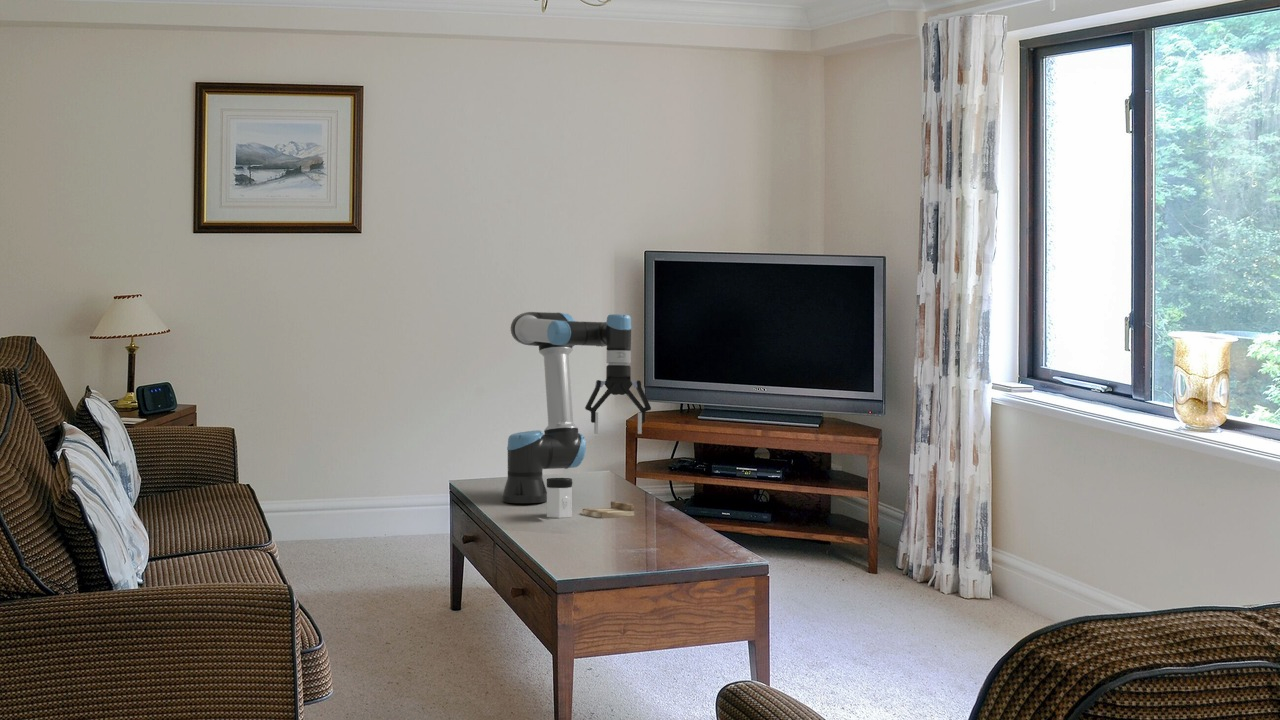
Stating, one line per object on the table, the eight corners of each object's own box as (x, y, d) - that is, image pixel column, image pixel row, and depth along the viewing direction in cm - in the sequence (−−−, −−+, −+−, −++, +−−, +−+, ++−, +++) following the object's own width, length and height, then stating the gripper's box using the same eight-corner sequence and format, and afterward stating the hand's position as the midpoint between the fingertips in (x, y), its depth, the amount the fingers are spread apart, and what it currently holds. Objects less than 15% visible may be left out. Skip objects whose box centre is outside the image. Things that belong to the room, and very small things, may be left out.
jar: (553, 518, 338) (553, 480, 338) (540, 516, 345) (540, 478, 345) (578, 517, 343) (578, 479, 343) (565, 514, 350) (565, 477, 350)
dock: (582, 514, 350) (582, 503, 350) (613, 512, 356) (613, 501, 356) (602, 518, 340) (602, 506, 340) (634, 515, 346) (634, 504, 346)
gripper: (580, 364, 330) (579, 434, 330) (660, 365, 335) (660, 434, 335) (576, 364, 338) (576, 432, 337) (655, 365, 342) (655, 432, 342)
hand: (617, 433), depth 336 cm, fingers open, 13 cm apart
